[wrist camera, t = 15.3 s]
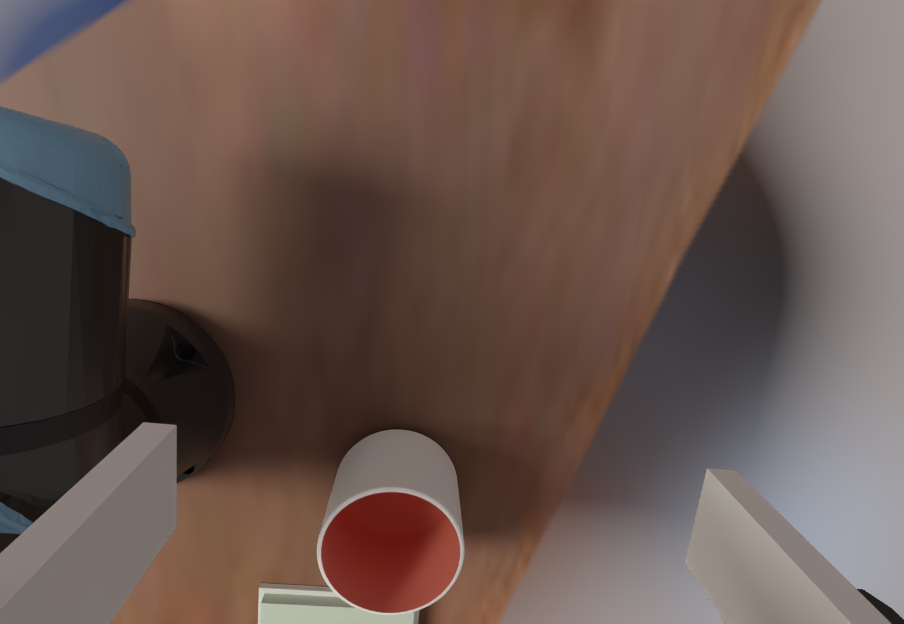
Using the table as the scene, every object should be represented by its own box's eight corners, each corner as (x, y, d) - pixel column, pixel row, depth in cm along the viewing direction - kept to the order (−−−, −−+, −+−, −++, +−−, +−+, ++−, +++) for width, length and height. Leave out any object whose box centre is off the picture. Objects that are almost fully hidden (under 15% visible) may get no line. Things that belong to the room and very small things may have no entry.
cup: (313, 463, 49) (286, 537, 39) (414, 401, 48) (412, 460, 38) (381, 550, 51) (371, 640, 41) (478, 492, 50) (492, 570, 40)
